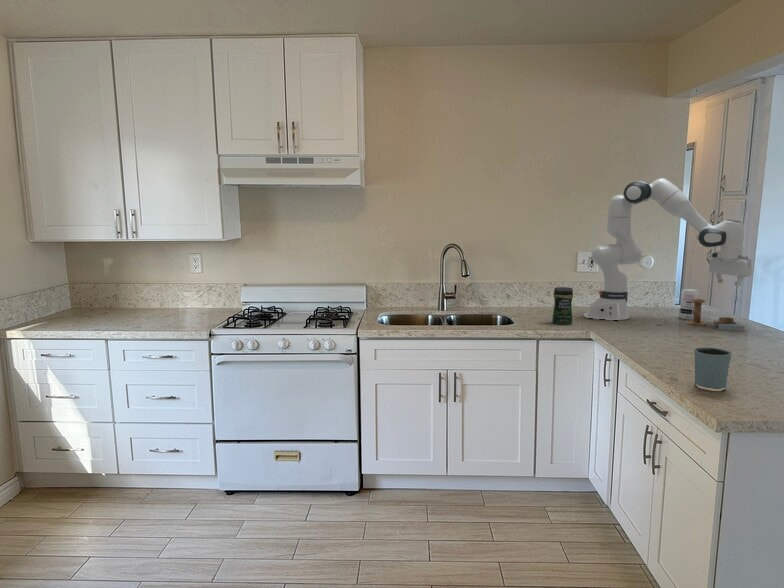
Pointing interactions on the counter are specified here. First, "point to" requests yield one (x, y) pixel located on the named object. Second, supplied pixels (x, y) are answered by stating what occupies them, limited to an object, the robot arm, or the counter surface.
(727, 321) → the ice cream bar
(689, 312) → the supplement can
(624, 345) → the counter surface
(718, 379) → the teal cup
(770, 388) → the counter surface
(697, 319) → the bobbin
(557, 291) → the coffee jar
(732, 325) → the notch board
